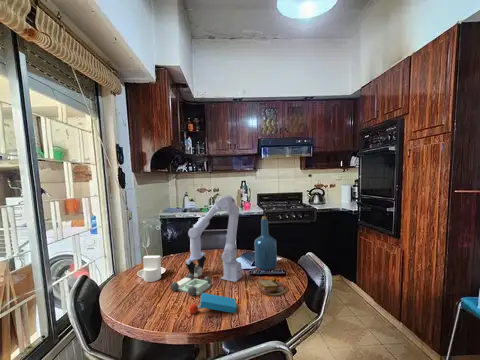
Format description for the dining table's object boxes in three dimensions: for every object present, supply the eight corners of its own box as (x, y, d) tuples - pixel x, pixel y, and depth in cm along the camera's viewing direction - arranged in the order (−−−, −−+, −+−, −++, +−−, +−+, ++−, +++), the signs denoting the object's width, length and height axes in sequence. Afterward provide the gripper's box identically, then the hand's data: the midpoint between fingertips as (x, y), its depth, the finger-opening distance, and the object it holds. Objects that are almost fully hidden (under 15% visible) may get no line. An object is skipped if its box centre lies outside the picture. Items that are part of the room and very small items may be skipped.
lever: (230, 314, 100) (189, 307, 98) (234, 298, 100) (193, 291, 98) (232, 324, 93) (187, 317, 91) (236, 307, 94) (192, 299, 91)
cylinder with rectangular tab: (163, 274, 133) (163, 253, 133) (156, 281, 124) (155, 259, 124) (148, 274, 134) (148, 253, 134) (140, 281, 125) (139, 259, 125)
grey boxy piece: (202, 274, 132) (201, 265, 132) (197, 277, 128) (197, 268, 128) (195, 273, 134) (195, 264, 134) (191, 276, 130) (190, 267, 130)
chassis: (212, 285, 118) (211, 277, 118) (195, 297, 107) (195, 288, 107) (187, 279, 126) (187, 272, 126) (169, 290, 114) (169, 282, 114)
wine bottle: (258, 272, 132) (257, 219, 132) (252, 264, 145) (250, 215, 145) (281, 269, 135) (279, 217, 135) (272, 261, 148) (271, 214, 148)
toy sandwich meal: (291, 294, 107) (290, 284, 107) (263, 299, 103) (262, 288, 103) (280, 282, 119) (279, 273, 119) (254, 286, 116) (254, 277, 115)
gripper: (198, 244, 139) (199, 267, 139) (181, 251, 126) (182, 276, 127) (207, 245, 136) (208, 268, 136) (191, 253, 123) (192, 278, 123)
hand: (196, 272), depth 131 cm, fingers open, 7 cm apart
